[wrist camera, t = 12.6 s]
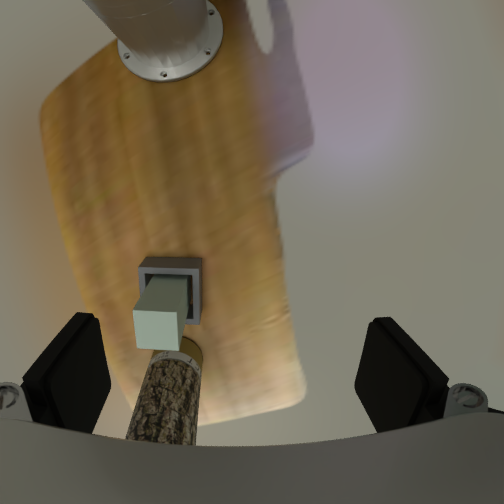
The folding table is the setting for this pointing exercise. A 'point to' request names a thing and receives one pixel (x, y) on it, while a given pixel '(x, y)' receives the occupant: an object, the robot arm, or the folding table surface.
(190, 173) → the folding table surface
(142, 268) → the socket block
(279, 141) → the folding table surface
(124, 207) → the folding table surface
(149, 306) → the peg
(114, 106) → the folding table surface
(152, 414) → the bark log chew toy
